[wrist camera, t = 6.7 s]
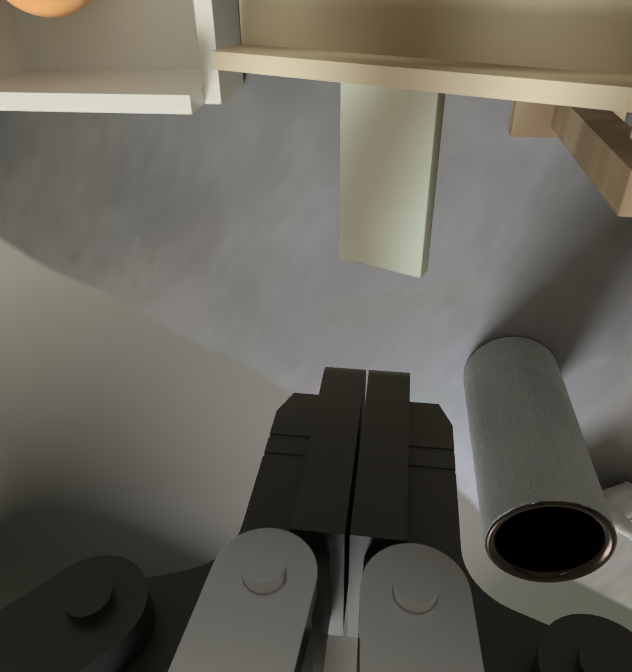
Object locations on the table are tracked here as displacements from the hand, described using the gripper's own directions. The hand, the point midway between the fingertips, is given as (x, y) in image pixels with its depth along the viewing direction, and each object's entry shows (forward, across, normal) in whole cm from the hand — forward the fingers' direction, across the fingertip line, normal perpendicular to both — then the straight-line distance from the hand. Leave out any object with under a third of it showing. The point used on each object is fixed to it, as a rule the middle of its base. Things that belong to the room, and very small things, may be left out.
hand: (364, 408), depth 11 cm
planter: (+17, -6, +11) cm, 21 cm away
